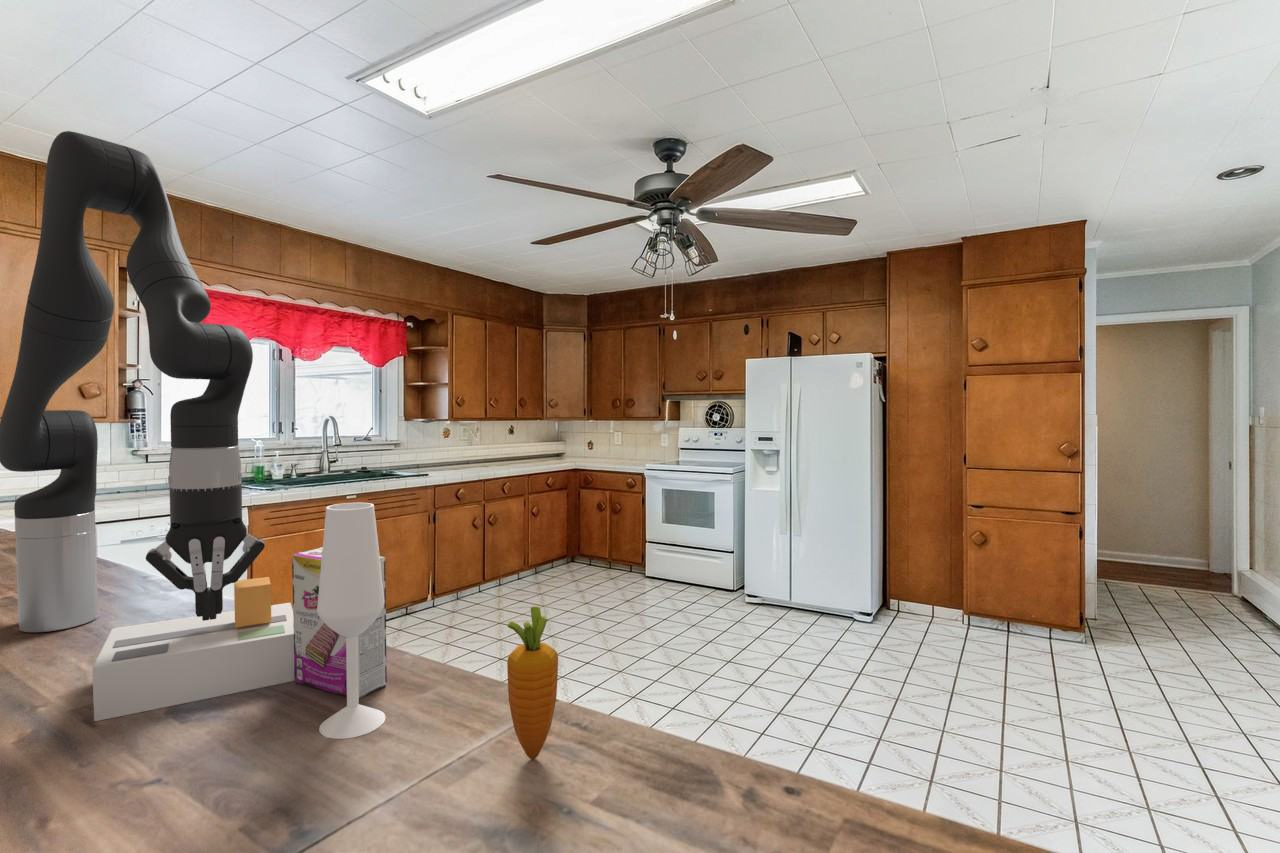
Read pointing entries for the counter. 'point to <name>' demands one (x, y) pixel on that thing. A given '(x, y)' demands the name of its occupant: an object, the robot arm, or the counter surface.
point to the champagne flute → (350, 602)
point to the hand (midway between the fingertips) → (209, 618)
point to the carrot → (532, 684)
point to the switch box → (190, 661)
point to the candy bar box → (332, 636)
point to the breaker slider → (252, 601)
